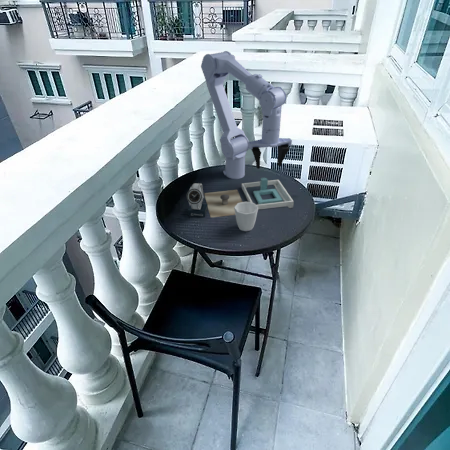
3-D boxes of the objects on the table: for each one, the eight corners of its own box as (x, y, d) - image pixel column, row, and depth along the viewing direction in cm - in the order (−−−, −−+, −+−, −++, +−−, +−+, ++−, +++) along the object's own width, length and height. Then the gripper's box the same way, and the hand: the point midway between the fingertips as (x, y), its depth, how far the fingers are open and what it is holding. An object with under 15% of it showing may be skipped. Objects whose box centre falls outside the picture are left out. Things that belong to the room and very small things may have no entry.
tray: (241, 189, 121) (241, 183, 120) (278, 185, 123) (278, 179, 121) (252, 212, 108) (252, 206, 107) (293, 207, 110) (293, 201, 109)
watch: (186, 221, 104) (183, 191, 98) (193, 208, 111) (190, 178, 105) (204, 223, 104) (202, 192, 97) (209, 209, 110) (207, 179, 104)
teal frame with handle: (251, 191, 118) (252, 178, 115) (273, 188, 119) (274, 176, 116) (259, 205, 110) (259, 192, 107) (282, 203, 111) (283, 189, 108)
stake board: (204, 195, 118) (203, 186, 116) (237, 192, 119) (237, 183, 117) (210, 220, 105) (210, 210, 103) (247, 215, 107) (247, 206, 104)
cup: (233, 236, 98) (233, 213, 93) (235, 217, 106) (235, 195, 101) (257, 237, 97) (258, 214, 92) (257, 218, 105) (258, 196, 101)
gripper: (252, 133, 103) (251, 173, 111) (296, 130, 105) (292, 169, 113) (247, 126, 108) (246, 164, 116) (289, 123, 110) (285, 160, 118)
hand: (268, 166), depth 115 cm, fingers open, 7 cm apart
